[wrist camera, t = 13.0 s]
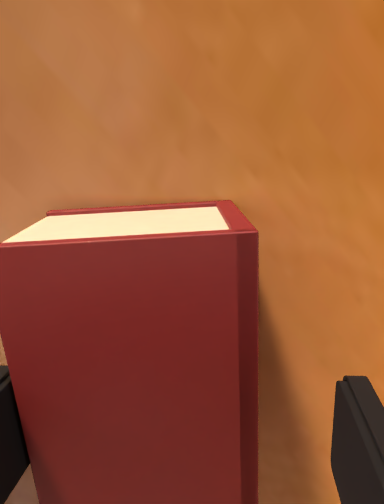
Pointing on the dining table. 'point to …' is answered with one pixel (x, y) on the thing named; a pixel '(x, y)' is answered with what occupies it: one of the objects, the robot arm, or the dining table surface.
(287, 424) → the dining table surface
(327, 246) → the dining table surface
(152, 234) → the pocket dictionary
